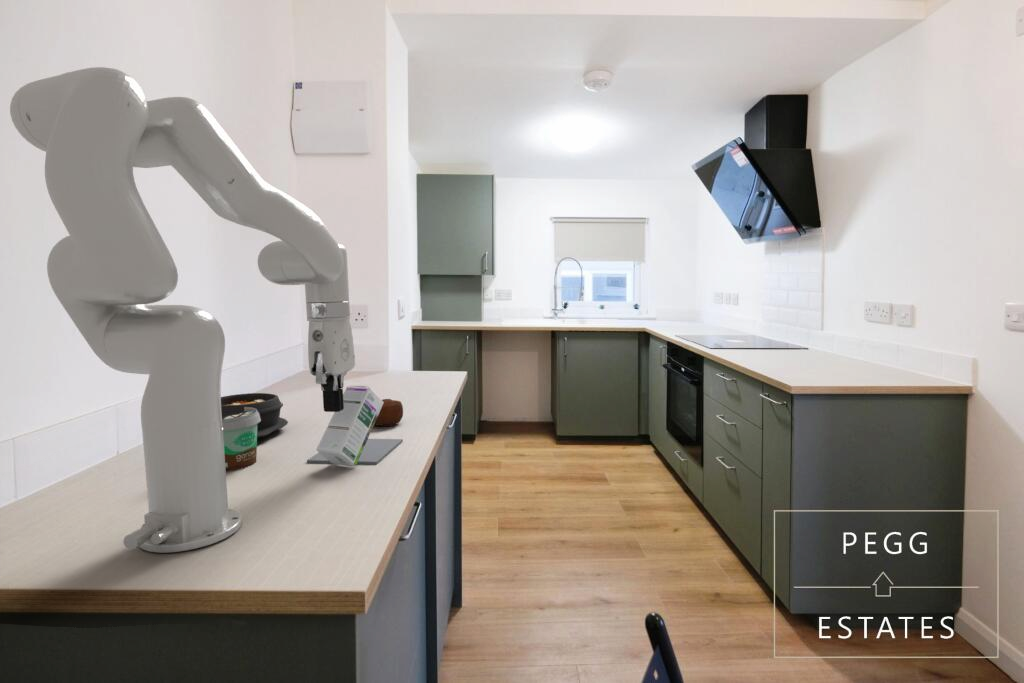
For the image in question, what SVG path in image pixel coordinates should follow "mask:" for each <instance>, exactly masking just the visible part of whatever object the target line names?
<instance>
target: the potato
mask: <svg viewBox="0 0 1024 683" xmlns="http://www.w3.org/2000/svg"><path fill="white" fill-rule="evenodd" d="M381 400H382V401H383V402H384V403H383V405H382V408H381V410H380V412H379V415H378V417H377V419H376V421H375V424H374V426H381V427H382V426H383V427H384V426H386V427H387V426H395V425H397V424H399V423H400V422H401V421H402V420H403V415H404V407H403V404H402V401H401V400H394V399H390V398H384V399H381Z"/></svg>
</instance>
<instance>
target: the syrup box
mask: <svg viewBox="0 0 1024 683" xmlns="http://www.w3.org/2000/svg"><path fill="white" fill-rule="evenodd" d="M382 400H383V399H382V398H380V397H379V395H378V394H377V393H376V392H375V391H374V390H373V389H372V387H370V386H366V385H348V386H346V388H345V390H344V391H343V403H344V409H343V410H341V411H339V412H333V415H332V417H331V418H330V421H329V422H328V424H327V427H326V429H325V430H324V432H323V435H322V437H321V439H320V441H319V443H318V445H317V447H316V451H317V453H320V454H322V455H323V456H324V457H325V458H326V459H328V460H329V461H330V462H331V463H330V464H334V465H341V466H347V467H354V468H355V467H356V466H357V465H358V464H357V462H358V460H359V458H360V455H361V453H362V451H363V449H364V446H365V444H366V442H367V440H368V439H369V437H370V435H371V433H372V430H373V429H374V426H375V425H374V424H375V421H376V419H377V417H378V415H379V412H380V410H381V408H382V405H383V403H384V402H383V401H382Z"/></svg>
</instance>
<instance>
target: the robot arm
mask: <svg viewBox="0 0 1024 683" xmlns="http://www.w3.org/2000/svg"><path fill="white" fill-rule="evenodd" d="M9 114H10V119H11V122H12V123H13V126H14V128H15V129H16V130H17V132H18V133H19V135H20V136H22V138H24V140H25V141H26V142H28V143H29V144H31V145H32V146H34V147H35V148H37V149H39V150H41V151H43V152H45V161H44V177H45V178H44V180H45V185H46V189H47V192H48V196H49V197H50V200H51V202H52V204H53V206H54V209H55V211H56V212H57V214H58V216H59V218H60V220H61V221H62V223H63V225H64V227H65V229H66V231H67V233H68V236H65V237H63V238H62V239H60V240H59V241H57V243H55V245H53V247H52V248H51V250H50V252H49V254H48V257H47V264H46V272H47V277H48V280H49V284H50V286H51V290H52V291H53V293H54V295H55V296H56V298H57V299H58V301H59V303H60V304H61V305H62V307H63V309H64V310H65V312H66V313H67V315H68V316H69V318H70V319H71V320H72V323H73V324H74V325H75V327H76V328H77V329H78V331H79V333H80V334H81V335H82V337H83V338H84V339H85V340H84V341H86V343H87V344H88V346H89V347H90V349H91V350H92V352H93V353H94V354H95V355H96V356H97V357H98V358H99V359H100V361H101V362H103V363H104V364H105V365H106V366H107V367H108V368H111V369H113V370H115V371H118V372H122V373H127V374H128V373H129V374H135V375H137V374H138V375H148V379H147V383H146V386H145V389H144V391H143V394H142V398H141V404H140V405H141V406H140V422H141V429H142V430H141V432H142V444H143V456H144V467H145V480H146V493H147V506H148V512H147V513H145V514H144V515H143V517H144V518H143V519H144V523H143V524H142V525H141V527H140V528H139V529H136V530H134V531H133V532H131V533H129V534H127V535H126V536H124V538H123V539H122V540H123V541H122V543H123V545H124V547H125V548H126V549H127V550H131V551H133V550H135V549H137V548H140V549H142V550H144V551H147V552H150V553H157V554H159V553H161V554H162V553H163V554H164V553H165V554H166V553H167V554H169V553H178V552H186V551H190V550H197V549H199V548H203V547H207V546H210V545H213V544H216V543H218V542H220V541H223V540H225V539H227V538H228V537H230V536H232V535H233V534H235V533H236V532H237V531H238V530H239V529H240V527H241V526H242V516H241V514H240V513H239V512H237V511H236V510H234V509H229V503H228V502H229V501H228V485H227V471H226V469H225V454H224V439H223V424H222V412H221V397H222V393H221V389H222V386H221V383H222V372H223V364H224V357H225V350H226V338H225V333H224V330H223V328H222V325H221V324H220V322H219V321H218V319H217V318H215V316H214V315H212V314H211V313H210V312H208V311H205V310H204V309H202V308H199V307H196V306H192V305H187V304H185V305H183V304H154V305H149V304H153V303H158V302H160V301H162V300H164V299H166V298H168V297H169V296H170V295H171V294H173V292H174V291H175V290H176V288H177V285H178V280H179V274H178V269H177V265H176V263H175V261H174V259H173V256H172V254H171V253H170V251H169V249H168V247H167V245H166V243H165V241H164V239H163V238H162V236H161V233H160V232H159V229H158V228H157V226H156V224H155V222H154V220H153V219H152V217H151V214H150V213H149V211H148V209H147V207H146V206H145V204H144V201H143V199H142V197H141V195H140V192H139V191H138V188H137V187H138V186H137V185H136V182H135V177H134V168H139V169H150V168H151V169H152V168H159V167H160V168H161V167H169V166H170V167H172V168H173V169H174V170H175V171H176V172H177V173H178V174H179V176H181V177H182V178H183V180H185V182H186V183H187V184H188V185H189V186H190V187H191V188H192V189H193V190H194V192H196V193H197V195H198V196H199V197H200V198H201V199H202V200H203V201H204V202H205V204H207V206H209V208H210V209H211V210H212V212H214V213H215V214H216V215H217V216H218V217H220V218H222V219H224V220H227V221H229V222H231V223H235V224H237V225H239V226H243V227H247V228H250V229H253V230H257V231H261V232H263V233H266V234H268V235H272V236H273V237H274V238H277V239H279V240H278V241H277V240H276V241H273V242H270V243H269V244H267V245H265V246H264V247H262V249H261V250H260V252H259V254H258V256H257V268H258V270H259V273H260V274H261V276H262V277H264V278H265V279H266V280H267V281H269V282H270V283H273V284H276V285H281V286H301V285H304V293H305V306H306V307H305V308H306V321H307V322H308V335H307V348H308V350H307V353H308V354H307V355H308V367H309V373H310V374H311V375H312V376H315V384H317V385H320V388H321V391H322V401H323V411H324V412H325V413H326V412H327V413H329V412H330V413H334V412H339V411H341V410H343V409H344V403H343V394H344V389H343V388H344V383H345V382H344V378H345V376H346V375H347V373H348V372H350V371H351V370H353V369H354V367H355V366H356V358H355V357H356V356H355V347H354V346H355V345H354V338H353V337H354V336H353V332H352V326H351V321H350V320H351V310H350V290H349V289H350V288H349V274H348V273H349V272H348V271H349V269H348V253H347V249H346V247H345V246H344V245H343V244H341V243H338V242H337V240H336V239H335V236H334V235H333V234H332V232H331V231H330V230H329V228H328V227H327V226H326V224H325V223H324V222H323V221H322V219H321V218H320V217H319V216H318V215H317V214H316V213H315V212H314V211H313V210H311V209H310V208H308V207H307V206H305V205H304V204H303V203H301V202H299V201H298V200H296V199H295V198H294V197H292V196H290V195H288V194H286V193H285V192H284V191H282V190H280V189H279V188H276V187H275V186H273V185H271V184H269V183H268V182H266V181H265V180H264V179H263V178H262V177H261V176H260V175H259V173H258V172H257V171H256V170H255V168H254V167H253V166H252V164H251V163H250V162H249V161H248V160H247V158H246V157H245V156H244V154H243V153H242V152H241V151H240V149H239V148H238V147H237V145H236V144H235V143H234V141H233V140H232V138H230V136H229V135H228V133H227V132H226V131H225V130H224V129H223V127H222V126H221V125H220V124H219V123H218V121H217V120H216V118H215V117H214V116H213V114H212V113H211V112H210V111H209V110H208V109H207V108H206V107H205V106H204V105H203V104H201V103H200V102H199V101H197V100H196V99H193V98H190V97H184V96H171V97H163V98H158V99H152V100H147V99H146V95H145V93H144V91H143V89H142V88H141V86H140V85H139V84H138V83H137V81H136V80H135V79H134V78H133V77H132V76H131V75H129V74H127V73H125V72H124V71H121V70H119V69H116V68H111V67H105V66H102V67H101V66H97V67H96V66H95V67H87V68H81V69H77V70H73V71H70V72H69V71H68V72H65V73H62V74H59V75H55V76H50V77H45V78H42V79H38V80H34V81H31V82H28V83H27V84H25V85H23V86H21V87H20V88H19V89H18V90H16V91H15V92H14V94H13V96H12V98H11V101H10V106H9Z"/></svg>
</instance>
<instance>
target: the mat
mask: <svg viewBox="0 0 1024 683" xmlns="http://www.w3.org/2000/svg"><path fill="white" fill-rule="evenodd" d="M403 441H404V440H403V439H402V438H401V439H400V438H368V440H367V442H366V444H365V446H364V449H363V451H362V453H361V455H360V458H359V460H358V462H357V465H378V464H379V463H380V462H381V461H383V460H384V459H385V458H386V457H387V456H388V455H390V453H391V452H393V451H394V450H395V449H396V448H398V446H400V445H401V444H402V443H403ZM306 463H308V464H332V463H331V462H330V461H329V460H328V459H326V458H325V457H324V456H323V455H322V454H320V453H319V452H317V453H316V454H314V455H313V456H311V457H310V458H308V459H306Z"/></svg>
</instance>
